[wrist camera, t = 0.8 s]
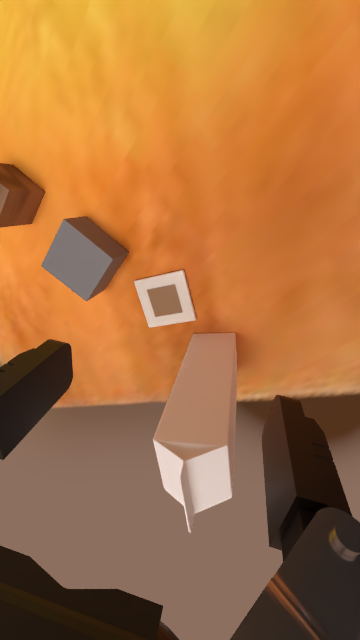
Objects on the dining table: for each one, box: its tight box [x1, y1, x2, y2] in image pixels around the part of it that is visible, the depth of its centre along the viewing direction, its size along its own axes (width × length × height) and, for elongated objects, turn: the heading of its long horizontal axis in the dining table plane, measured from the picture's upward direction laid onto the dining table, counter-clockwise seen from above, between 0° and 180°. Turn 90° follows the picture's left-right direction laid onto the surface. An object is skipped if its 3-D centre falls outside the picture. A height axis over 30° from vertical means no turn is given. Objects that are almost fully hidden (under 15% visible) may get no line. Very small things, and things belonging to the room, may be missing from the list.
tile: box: [134, 270, 197, 328], centre depth 36 cm, size 7×7×1 cm
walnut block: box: [0, 163, 45, 227], centre depth 33 cm, size 5×5×6 cm
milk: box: [153, 333, 238, 533], centre depth 29 cm, size 6×6×22 cm
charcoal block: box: [41, 217, 129, 301], centre depth 34 cm, size 7×7×5 cm
